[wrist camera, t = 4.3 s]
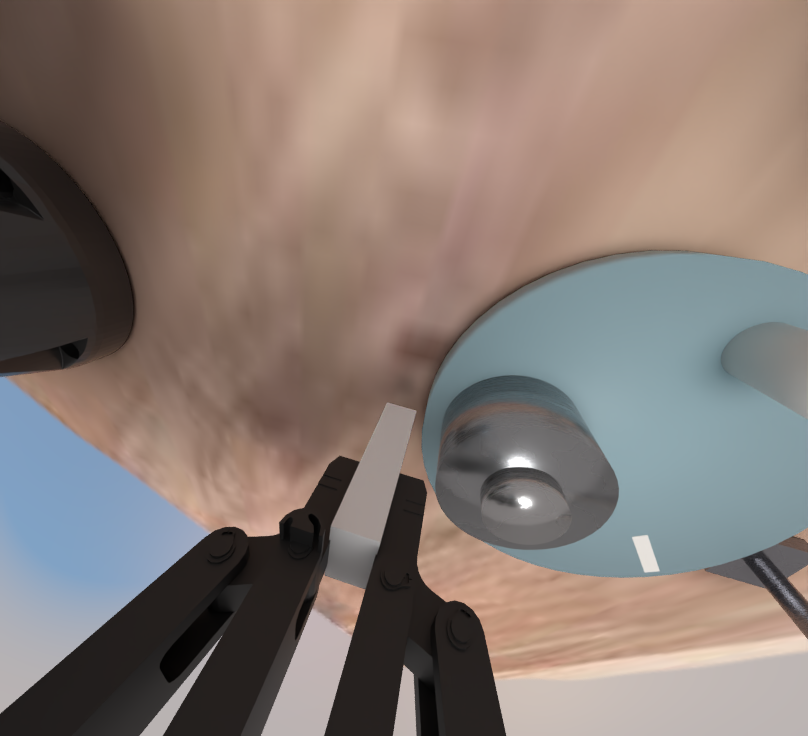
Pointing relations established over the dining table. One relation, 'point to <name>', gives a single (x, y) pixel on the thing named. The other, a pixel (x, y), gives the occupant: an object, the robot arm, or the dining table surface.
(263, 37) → the dining table surface
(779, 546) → the dial stand
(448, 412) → the cover
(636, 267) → the turntable
